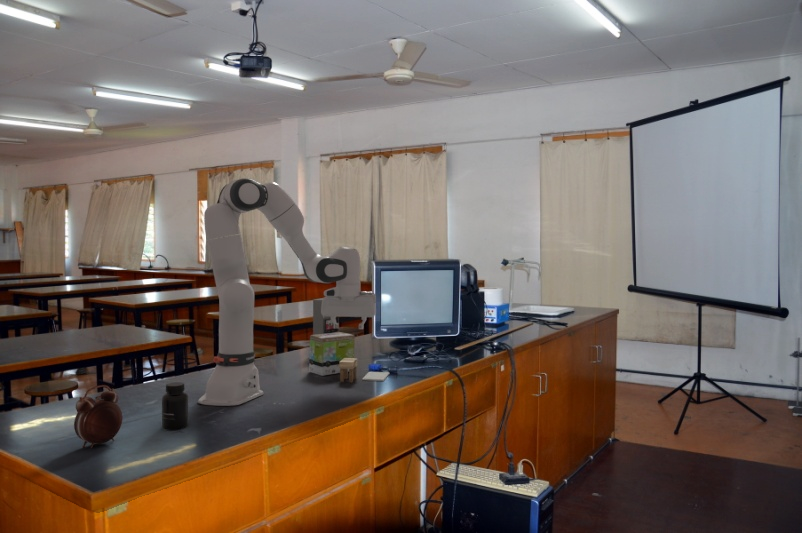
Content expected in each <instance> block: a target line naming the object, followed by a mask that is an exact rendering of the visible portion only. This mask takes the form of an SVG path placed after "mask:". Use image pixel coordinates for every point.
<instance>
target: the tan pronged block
mask: <svg viewBox="0 0 802 533" xmlns="http://www.w3.org/2000/svg"><path fill="white" fill-rule="evenodd" d="M357 368H358V358H355V357H354V358H344V359H342V360H341V361H340V362H339V369H340V373H339V381H340V382H339V383H344V382H345V380H347V379H348V380H349V381H348V383H353V382H354V380H357V377H358V375H357V370H358V369H357ZM348 369H349V373H348Z"/></svg>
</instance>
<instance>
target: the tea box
mask: <svg viewBox="0 0 802 533" xmlns="http://www.w3.org/2000/svg"><path fill="white" fill-rule="evenodd" d="M355 338H356V337H355V334H350V333H346V332H340V331H339V332H338V333H327V334H318V335H313V334H310V335H309V353H308V354H309V363H308V364H309V366H308V371H309V373H312V374H315V375H317V376H321V377H323V376H328V375H335V374H340V369H339V362H340V361H341V360H342V359H344V358H355ZM348 372H349V369H348Z"/></svg>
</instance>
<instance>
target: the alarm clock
mask: <svg viewBox="0 0 802 533" xmlns="http://www.w3.org/2000/svg"><path fill="white" fill-rule="evenodd" d="M102 387H103V388H106V389H107V390H106V391H104V392H102V393H101V394H100V395H99V396H95V399H94V398H93V397H90V396H88V394H89V392H90V391H92V390H95V389H98V388H102ZM118 401H119V396H118V394H117V393H116V392H115V390H114V388H111V387H110V386H108V384H107V385H106V384H101V385H95V386H93V387H91V388H89V389H87V390H86V391H85V394H84V396H83V397H82V396H80V397H79V400H77V402H75V403H76V404H75V410H76V414H75V416H74V421H73V422H74V423H73V427H74V428H73V429H74V431H75V434H76V436H77V437H78V438H79V439H81V440H82V441H84V443H83V446H82V448H84V449H85V447H86V445H87V444H88V443H89V444H91V446H90V449H93V446H94V445H95V444H96V445H102V444H105V443H108V442H109V441H111V440H112V442H115V441H116V439H114V438H115V436H116V435H117V434H118V433H119V431H120V429H121V427H122V423H123V411H122V410H121V409H122V408H120V406H119V405H118V404H117V403H118Z"/></svg>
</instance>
